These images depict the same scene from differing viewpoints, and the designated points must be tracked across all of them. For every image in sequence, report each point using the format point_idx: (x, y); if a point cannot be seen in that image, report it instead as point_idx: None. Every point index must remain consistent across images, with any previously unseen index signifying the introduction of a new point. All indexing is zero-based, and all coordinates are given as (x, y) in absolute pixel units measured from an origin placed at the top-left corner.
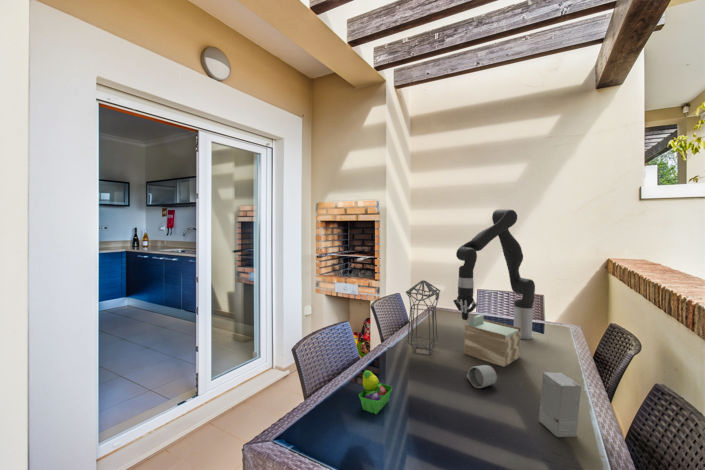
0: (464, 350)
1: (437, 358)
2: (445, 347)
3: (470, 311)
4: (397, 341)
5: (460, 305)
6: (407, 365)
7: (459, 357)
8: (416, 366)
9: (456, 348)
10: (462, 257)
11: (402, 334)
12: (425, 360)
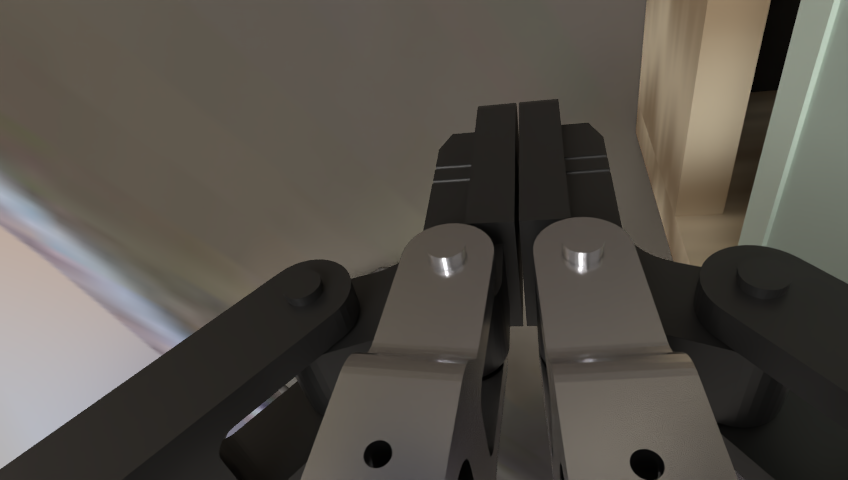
0: (641, 149)
1: (537, 339)
2: (418, 151)
3: (798, 412)
4: (168, 322)
5: (232, 424)
6: (497, 462)
7: (645, 229)
8: (533, 450)
9: (499, 84)
10: None
11: (9, 211)
12: (510, 393)
